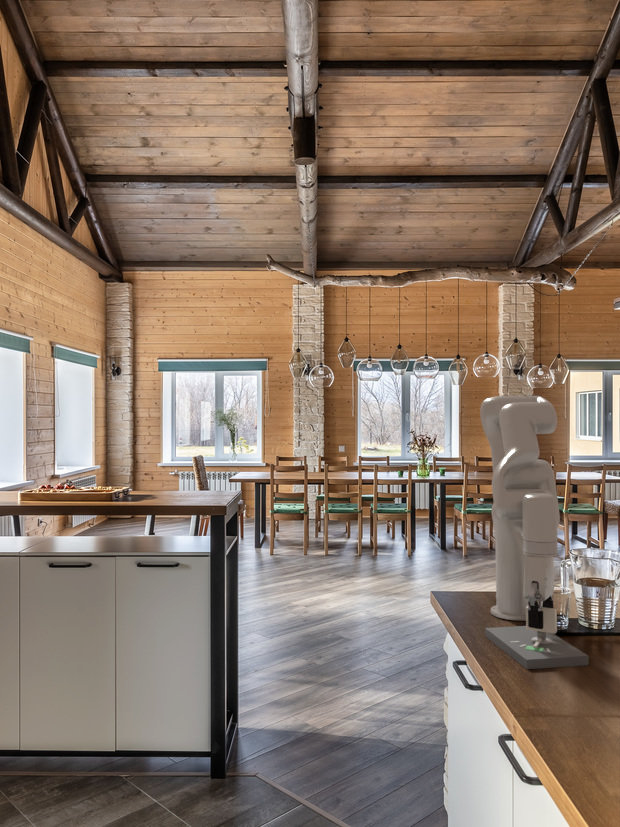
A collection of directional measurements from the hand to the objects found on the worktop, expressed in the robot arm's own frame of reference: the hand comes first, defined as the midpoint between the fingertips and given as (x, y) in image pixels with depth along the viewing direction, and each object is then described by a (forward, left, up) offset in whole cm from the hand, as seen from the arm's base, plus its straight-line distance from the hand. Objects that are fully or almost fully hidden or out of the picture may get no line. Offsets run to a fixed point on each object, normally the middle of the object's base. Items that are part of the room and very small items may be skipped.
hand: (541, 622), depth 153 cm
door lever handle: (+3, -2, -4) cm, 5 cm away
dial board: (0, -2, -6) cm, 6 cm away
